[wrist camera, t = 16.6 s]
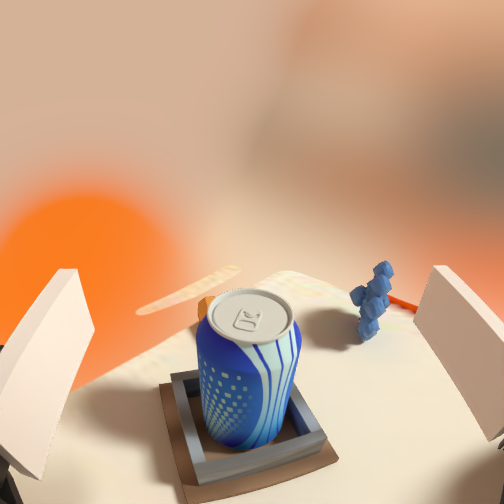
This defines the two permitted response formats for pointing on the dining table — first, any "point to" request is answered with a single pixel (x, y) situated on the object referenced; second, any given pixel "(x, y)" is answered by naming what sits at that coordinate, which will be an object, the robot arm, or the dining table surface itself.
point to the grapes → (373, 300)
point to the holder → (232, 460)
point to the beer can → (246, 366)
